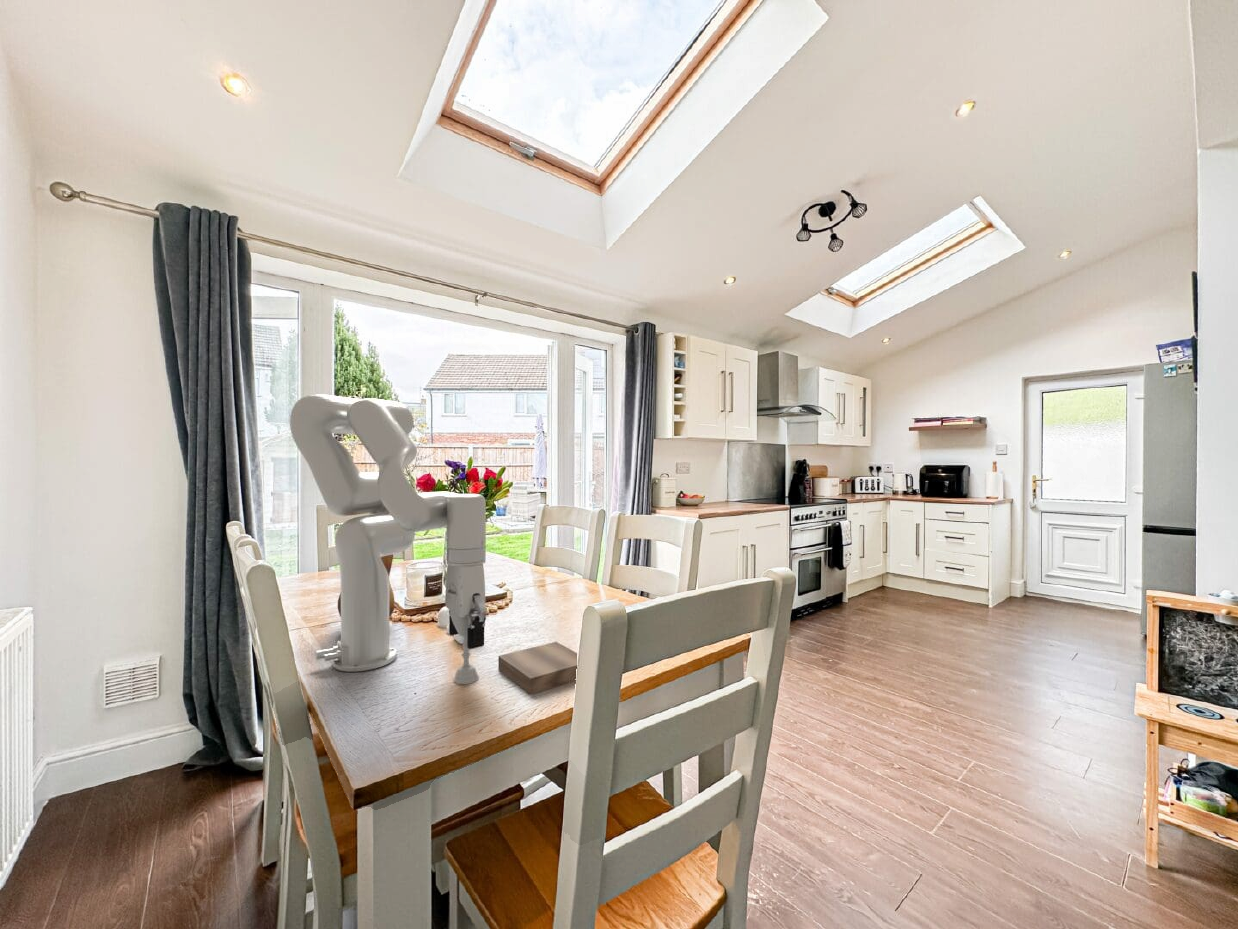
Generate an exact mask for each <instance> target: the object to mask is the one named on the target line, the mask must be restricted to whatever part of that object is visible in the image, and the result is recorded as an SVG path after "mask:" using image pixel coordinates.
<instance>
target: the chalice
mask: <svg viewBox="0 0 1238 929" xmlns="http://www.w3.org/2000/svg"><path fill="white" fill-rule="evenodd" d="M448 593H449V595H450V616H451V619H452V621H453V624H454V626H455V628H456V630H457V632H458V634H459V635H460V636H463V638H464V642H463V644H461V646H462V649H463V653H462V654H461V656H462V658H463V663H462V664H461V665H460V666H459V667H458V668H457V669H456V672H455V675H454V677H453V679H452V682H453V683H455V684H457V685H468V684H472V683H475V682H476V681H478V680H479V678H480V676H479V674H478V672H477V670H476V667H475V666H474V665H473V664H471V663H470V662H469V660H470V659H469V658H470V656H471V653H470V651H469V650H470V649H469V648H468V647H467V628H470V627H469V623H468V620H467V616H466V615H465V617H460V616H458V615H457V614H455V597H456V596H457V594H451V593H450V591H449V590H448ZM472 611H477V610H471V611H470V612H472ZM475 617H476V616H473V617H472V619H473V621H474V619H475Z"/></svg>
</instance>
